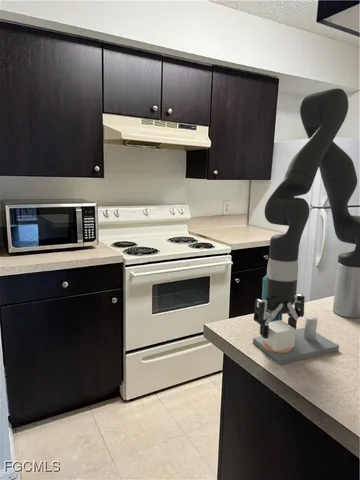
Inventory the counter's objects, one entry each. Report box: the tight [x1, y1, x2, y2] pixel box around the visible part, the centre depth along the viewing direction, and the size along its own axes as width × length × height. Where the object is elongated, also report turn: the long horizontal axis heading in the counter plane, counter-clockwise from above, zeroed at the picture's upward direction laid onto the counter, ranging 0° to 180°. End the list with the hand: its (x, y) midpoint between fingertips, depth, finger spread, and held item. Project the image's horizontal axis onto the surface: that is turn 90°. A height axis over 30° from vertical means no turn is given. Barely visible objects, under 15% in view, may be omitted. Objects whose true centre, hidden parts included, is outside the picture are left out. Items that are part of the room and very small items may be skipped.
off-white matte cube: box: [262, 319, 297, 351], centre depth 90 cm, size 6×6×5 cm
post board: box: [252, 315, 340, 365], centre depth 93 cm, size 19×12×8 cm, turn 112°
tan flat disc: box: [262, 341, 293, 353], centre depth 91 cm, size 8×8×1 cm
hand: (277, 334), depth 90 cm, fingers open, 8 cm apart
